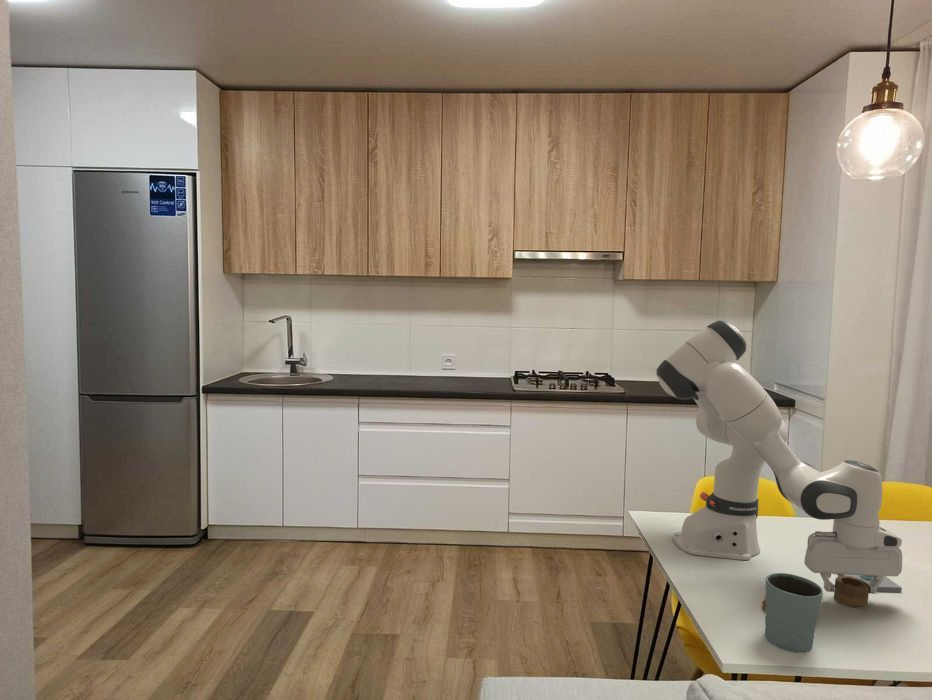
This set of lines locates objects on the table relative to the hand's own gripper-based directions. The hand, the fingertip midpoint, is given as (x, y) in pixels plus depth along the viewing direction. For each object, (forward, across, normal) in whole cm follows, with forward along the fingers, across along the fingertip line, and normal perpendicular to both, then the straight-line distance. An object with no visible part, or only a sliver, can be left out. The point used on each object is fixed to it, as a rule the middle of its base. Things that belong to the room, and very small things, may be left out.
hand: (849, 591), depth 145 cm
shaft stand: (+2, +10, +11) cm, 15 cm away
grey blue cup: (+3, -22, -18) cm, 29 cm away
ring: (+2, +1, 0) cm, 3 cm away
